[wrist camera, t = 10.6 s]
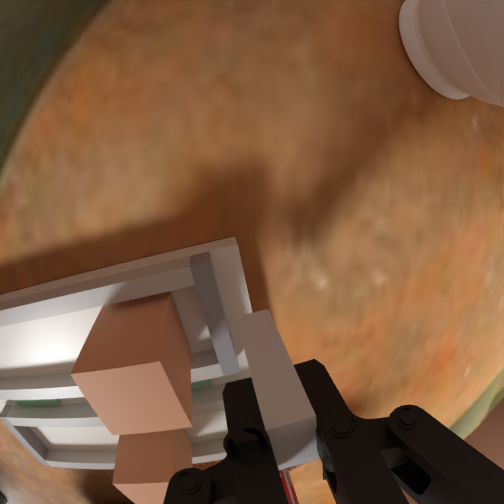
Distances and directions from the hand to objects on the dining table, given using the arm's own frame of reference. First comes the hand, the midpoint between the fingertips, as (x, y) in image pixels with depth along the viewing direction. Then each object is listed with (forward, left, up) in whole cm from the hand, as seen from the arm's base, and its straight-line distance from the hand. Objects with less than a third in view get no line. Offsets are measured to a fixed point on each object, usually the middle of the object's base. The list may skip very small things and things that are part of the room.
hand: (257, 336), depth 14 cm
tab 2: (-9, -9, -3) cm, 13 cm away
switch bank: (-12, -4, -5) cm, 13 cm away
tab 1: (-6, 0, -3) cm, 7 cm away
